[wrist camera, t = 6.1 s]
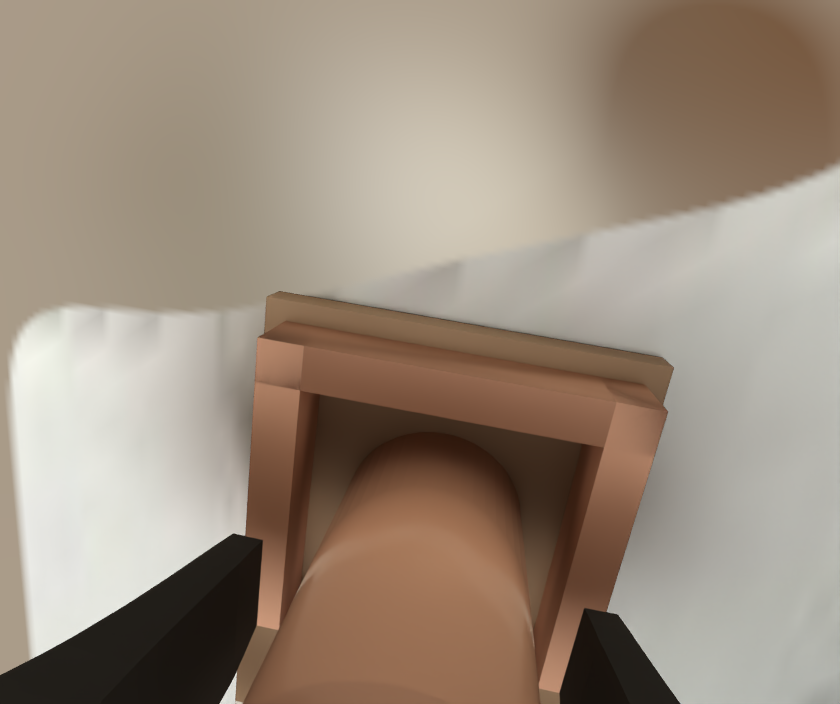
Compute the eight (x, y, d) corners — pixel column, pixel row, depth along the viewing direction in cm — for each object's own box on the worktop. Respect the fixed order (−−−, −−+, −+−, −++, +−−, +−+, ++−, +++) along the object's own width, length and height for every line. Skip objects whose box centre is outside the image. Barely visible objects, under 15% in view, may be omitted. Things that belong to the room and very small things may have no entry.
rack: (279, 291, 13) (236, 310, 11) (662, 357, 12) (701, 393, 10) (242, 806, 18) (207, 891, 16) (509, 873, 18) (513, 972, 16)
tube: (445, 397, 13) (398, 621, 6) (556, 531, 13) (625, 869, 6) (314, 492, 14) (149, 769, 7) (420, 611, 14) (362, 968, 8)
